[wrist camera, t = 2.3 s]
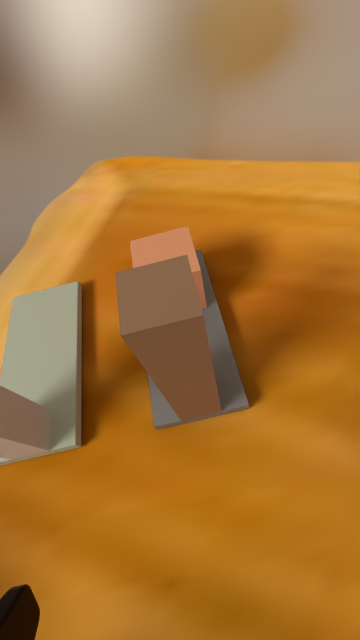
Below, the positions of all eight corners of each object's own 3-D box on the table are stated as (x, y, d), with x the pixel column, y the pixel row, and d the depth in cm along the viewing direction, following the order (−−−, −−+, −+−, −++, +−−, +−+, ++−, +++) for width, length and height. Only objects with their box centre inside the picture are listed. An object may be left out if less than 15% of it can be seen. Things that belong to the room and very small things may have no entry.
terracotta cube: (206, 307, 26) (200, 270, 22) (151, 321, 26) (135, 286, 22) (195, 266, 29) (187, 226, 25) (145, 279, 29) (129, 241, 25)
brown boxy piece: (248, 408, 22) (259, 301, 10) (157, 429, 22) (66, 348, 11) (201, 256, 31) (179, 103, 19) (136, 273, 31) (74, 132, 19)
